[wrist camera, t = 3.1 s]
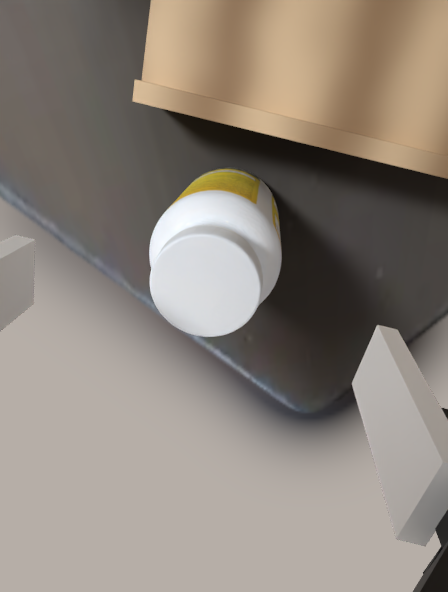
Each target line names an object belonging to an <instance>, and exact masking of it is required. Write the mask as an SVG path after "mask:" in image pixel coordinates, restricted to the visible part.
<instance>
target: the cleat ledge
mask: <svg viewBox="0 0 448 592" xmlns="http://www.w3.org/2000/svg"><path fill="white" fill-rule="evenodd" d="M133 102H138V103H142V104H146V105H150V106H154V107H158V108H162V109H166V110H170V111H174V112H178V113H182V114H186V115H190V116H194V117H199V118H203V119H207V120H211V121H215V122H219V123H223V124H227V125H231V126H235V127H239V128H243V129H247V130H251V131H255V132H259V133H264V134H268V135H272V136H276V137H280V138H284V139H288V140H292V141H296V142H300V143H304V144H308V145H312V146H316V147H320V148H325V149H329V150H333V151H337V152H341V153H345V154H349V155H353V156H357V157H361V158H365V159H369V160H373V161H377V162H381V163H386V164H390V165H394V166H398V167H402V168H406V169H410V170H414V171H418V172H422V173H426V174H430V175H434V176H438V177H442V178H446V179H448V0H151V6H150V14H149V23H148V31H147V40H146V48H145V57H144V65H143V74H142V81H141V80H135V83H134V92H133Z"/></svg>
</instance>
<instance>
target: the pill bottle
mask: <svg viewBox="0 0 448 592" xmlns="http://www.w3.org/2000/svg"><path fill="white" fill-rule="evenodd" d="M149 258H150V265H151V269H152V270H151V274H150V290H151V295H152V298H153V301H154V303H155V305H156V307H157V308H158V310H159V312H160V313H161V314H162V315H163V316H164V318H165V319H166V320H167V321H169V322H170V323H171V324H172V325H174V326H175V327H177V328H178V329H180V330H182V331H184V332H187V333H190V334H193V335H197V336H204V337H214V336H221V335H225V334H228V333H231V332H233V331H235V330H237V329H239V328H240V327H242V326H243V325H244V324H245V323H247V322H248V321H249V319H250V318H251V317H252V316H253V314H254V313H255V311H256V309H257V307H258V305H259V304H261V303H262V302H263V301H264V300H265V298H266V297H267V296H268V295H269V294H270V292H271V291H272V289H273V288H274V286H275V284H276V282H277V279H278V276H279V273H280V268H281V261H282V251H281V238H280V227H279V214H278V208H277V204H276V201H275V198H274V196H273V194H272V193H271V191H270V190H269V188H268V187H267V186H266V184H265V183H264V182H263V181H262V180H261V179H259V178H258V177H257V176H255V175H253V174H252V173H250V172H247V171H245V170H242V169H238V168H229V167H227V168H218V169H214V170H211V171H209V172H206V173H204V174H203V175H201V176H199V177H198V178H197V179H196V180H194V181H193V182H192V183H191V184H190V185H189V186H188V188H187V189H186V190H185V191H184V192H183V193H182V194H181V195H180V196H179V197H178V198H177V200H176V201H175V202H174V203H173V204H172V205H171V206H170V207H169V208H168V209H167V210H166V211H165V213H164V214H163V215H162V217H161V218H160V220H159V221H158V223H157V225H156V227H155V229H154V231H153V234H152V237H151V241H150V249H149Z"/></svg>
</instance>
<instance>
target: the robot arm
mask: <svg viewBox="0 0 448 592" xmlns="http://www.w3.org/2000/svg"><path fill="white" fill-rule="evenodd" d="M34 263H35V239H30V238H26V237H22V236H18V235H14V236H12V237H10V238H8V239H6V240H4V241H2V242H0V331H1V330H3V329H4V328H5V327H6V326H7V325H9V324H10V323H11V322H12V321H13V320H14V319H16V318H17V317H18V316H19V315H21V314H22V313H23V312H24V311H26V310H27V309H28V308H29V307H30V306H32V305H33V301H34V299H33V298H34V265H35V264H34ZM352 386H353V390H354V393H355V397H356V400H357V404H358V407H359V410H360V414H361V417H362V421H363V425H364V428H365V432H366V435H367V439H368V442H369V446H370V449H371V453H372V457H373V460H374V463H375V467H376V470H377V474H378V478H379V481H380V484H381V488H382V492H383V495H384V499H385V502H386V505H387V509H388V513H389V516H390V520H391V523H392V527H393V530H394V534H395V537H396V539H398V540H402V541H406V542H410V543H414V544H418V545H422V546H426V544H427V543H428V541H429V540H430V538H431V537H432V535H433V534H434V532H435V531H436V533H437V535H438V538H439V540H440V543H441V548H440V549H439V551H438V552H437V553H436V555H435V556H434V558H433V559H432V561H431V562H430V563H429V565H428V566H427V568H426V569H425V571H424V572H423V576H422V578H421V579H420V581H419V582H418V584H417V586H416V587H415V589H414V591H413V592H448V409H444V408H441V407H440V405H439V403H438V401H437V400H436V398H435V396H434V395H433V393H432V391H431V389H430V387H429V385H428V384H427V382H426V380H425V378H424V376H423V375H422V373H421V371H420V369H419V367H418V366H417V364H416V362H415V360H414V358H413V357H412V355H411V353H410V351H409V349H408V348H407V346H406V344H405V342H404V341H403V339H402V337H401V335H400V333H399V332H398V330H397V329H393V328H389V327H385V326H381V325H377V327H376V329H375V331H374V333H373V336H372V338H371V340H370V343H369V345H368V347H367V350H366V352H365V354H364V356H363V359H362V361H361V363H360V366H359V368H358V370H357V372H356V375H355V377H354V379H353V382H352Z"/></svg>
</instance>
